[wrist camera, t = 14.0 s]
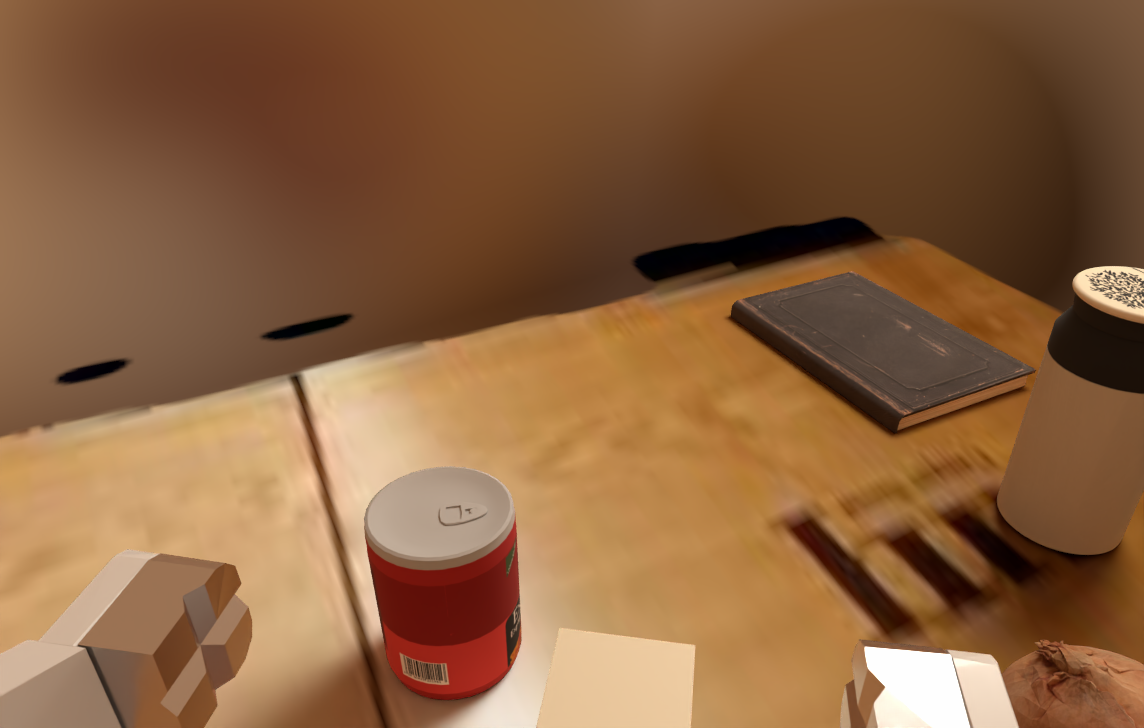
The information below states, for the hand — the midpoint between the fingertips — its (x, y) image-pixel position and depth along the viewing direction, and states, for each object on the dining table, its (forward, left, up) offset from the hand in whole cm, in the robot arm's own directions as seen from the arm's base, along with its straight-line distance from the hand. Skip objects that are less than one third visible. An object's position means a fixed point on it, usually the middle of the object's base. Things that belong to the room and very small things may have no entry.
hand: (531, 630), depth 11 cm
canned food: (-11, +25, -32) cm, 42 cm away
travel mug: (+28, +43, -32) cm, 61 cm away
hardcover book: (+18, +66, -33) cm, 76 cm away
